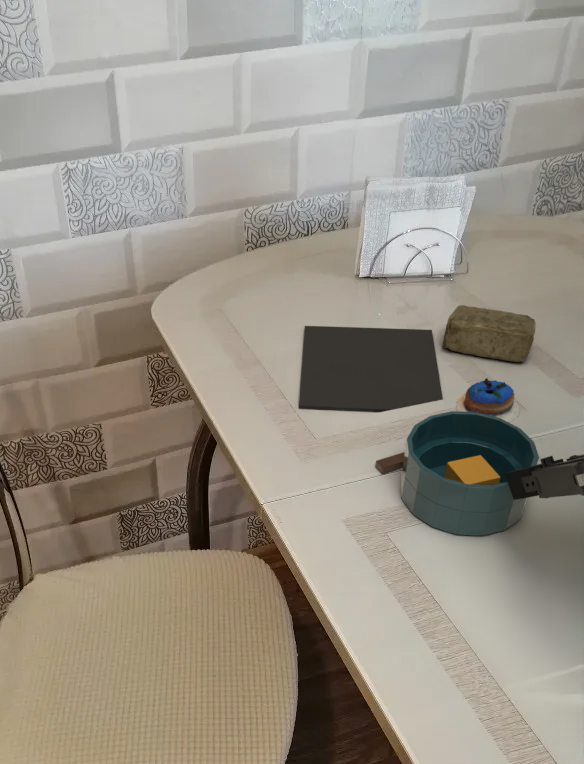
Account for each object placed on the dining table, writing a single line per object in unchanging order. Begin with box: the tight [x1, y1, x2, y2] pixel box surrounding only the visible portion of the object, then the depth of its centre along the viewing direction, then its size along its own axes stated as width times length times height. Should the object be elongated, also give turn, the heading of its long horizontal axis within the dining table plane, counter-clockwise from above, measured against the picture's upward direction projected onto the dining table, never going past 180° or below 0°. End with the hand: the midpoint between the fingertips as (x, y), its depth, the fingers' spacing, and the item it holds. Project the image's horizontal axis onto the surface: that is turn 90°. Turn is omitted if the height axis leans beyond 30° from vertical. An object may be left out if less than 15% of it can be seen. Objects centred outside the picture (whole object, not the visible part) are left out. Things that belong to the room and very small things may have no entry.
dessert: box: [455, 377, 520, 424], centre depth 98 cm, size 8×7×6 cm
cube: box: [444, 455, 500, 485], centre depth 85 cm, size 4×4×4 cm
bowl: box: [399, 410, 540, 536], centre depth 85 cm, size 13×13×7 cm
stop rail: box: [374, 451, 405, 476], centre depth 92 cm, size 12×2×2 cm, turn 113°
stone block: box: [442, 304, 537, 363], centre depth 108 cm, size 6×12×5 cm, turn 68°
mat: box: [298, 325, 444, 413], centre depth 107 cm, size 18×20×1 cm
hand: (515, 484), depth 77 cm, fingers closed
